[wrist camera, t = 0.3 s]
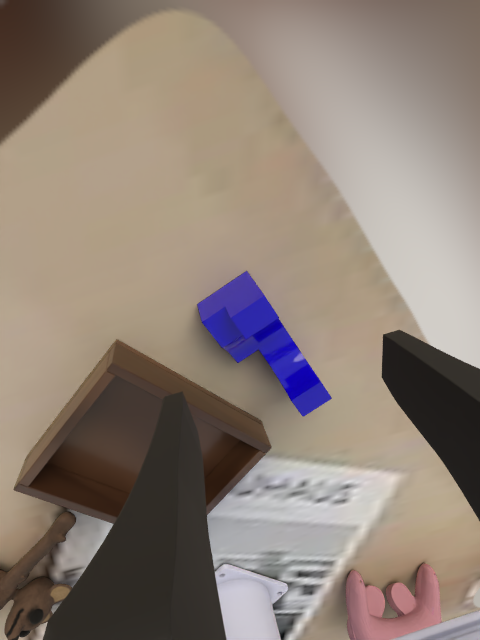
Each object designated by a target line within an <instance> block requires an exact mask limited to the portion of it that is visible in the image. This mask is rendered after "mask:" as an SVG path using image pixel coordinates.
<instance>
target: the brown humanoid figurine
mask: <svg viewBox="0 0 480 640" xmlns="http://www.w3.org/2000/svg"><path fill="white" fill-rule="evenodd" d="M75 522H76V517H75V515H74V514H73V513H71V512H64V513H62V514H61V515H59V517H58V518H57V519H56V520H55V522H54V523H53V525H52V526H51V528H50V529H49V530H48V532H47V533H46V534H45V535H44V537H43V538H42V539H41V540H40V541H39V542H38V543H37V544H36V545H35V546H34V547H33V548H32V549H31V550H30V551H29V552H28V553H27V554H26V555H25V556H24V557H23V558H22V559H21V560H20V561H19V562H18V563H17V564H16V565H15V566H14V567H13V568H12V569H11V570H10V571H9V572H4V571H2V570H1V569H0V610H1V609H2V608H3V607H4V606H5V604H6V603H7V602H8V601H9V600H14V604H13V607H12V609H11V611H10V613H9V615H8V617H7V620H6V624H5V635H6V637H7V639H8V640H18V638H19V636H20V637H25V636H27V635H28V634H29V633H30V631H31V630H33V629H35V628H36V627H38V626H39V625H40V624H43V623H46V622H48V620H49V619H50V618H51V616H52V615H53V613H52V611H51V608H52V606H53V604H55V603H57V602H60V601H62V600H64V599H65V598H66V596H67V595H68V593H69V592H70V591H71V589H72V587H71V586H69V585H66V584H55V585H54V583H53V582H52V581H51V580H50V579H48V578H46V577H40V578H37V579H35V580H33V581H32V582H30V583H28V584H27V585H26V586H24V587H22V588H20V589H17V587H18V584H20V583H21V582H23V581H24V580H26V579H27V577H28V576H29V572H30V571H31V570H32V569H33V568H34V567H35V565H36V564H37V563H38V562H39V561H40V560H41V559H42V558H43V557H44V556H45V555H46V554H47V553H48V552H50V551H51V550H52V549H53V546H54V545H56V544H57V543H60V542H64V541H66V538H65V536H66V534H67V532H68V531H69V530H70V529H71V528H72V527H73V526H74V524H75Z"/></svg>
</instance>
